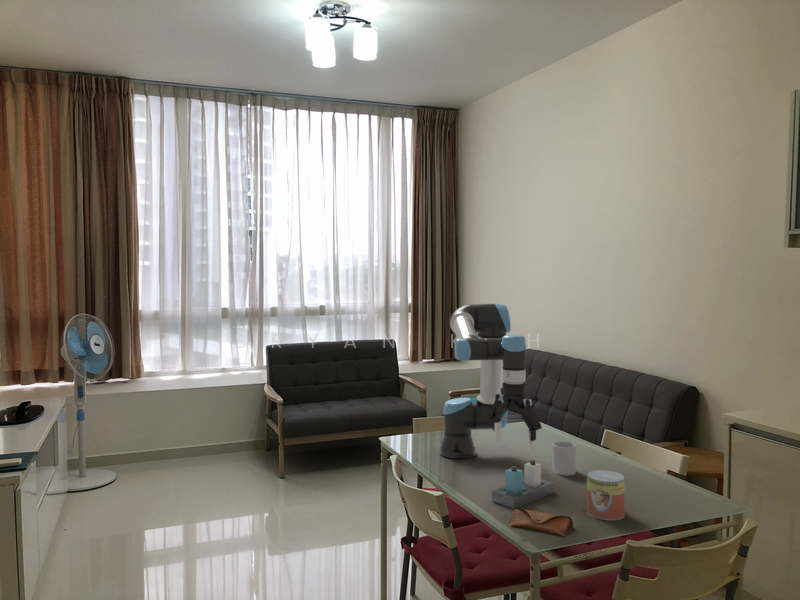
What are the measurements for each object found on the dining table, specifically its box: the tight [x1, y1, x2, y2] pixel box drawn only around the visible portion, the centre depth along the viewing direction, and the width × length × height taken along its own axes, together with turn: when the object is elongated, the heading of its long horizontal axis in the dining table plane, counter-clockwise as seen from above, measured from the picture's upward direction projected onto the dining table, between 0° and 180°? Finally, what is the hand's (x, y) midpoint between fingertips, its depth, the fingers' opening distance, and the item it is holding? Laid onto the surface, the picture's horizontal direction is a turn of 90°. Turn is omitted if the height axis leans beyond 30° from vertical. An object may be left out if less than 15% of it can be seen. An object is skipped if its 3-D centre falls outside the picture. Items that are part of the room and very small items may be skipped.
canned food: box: [586, 469, 626, 521], centre depth 187 cm, size 11×11×12 cm
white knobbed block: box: [523, 459, 542, 488], centre depth 203 cm, size 4×4×11 cm
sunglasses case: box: [508, 507, 574, 538], centre depth 178 cm, size 18×7×7 cm
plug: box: [504, 465, 524, 495], centre depth 197 cm, size 4×4×11 cm
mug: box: [552, 440, 577, 476], centre depth 228 cm, size 12×8×11 cm
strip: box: [491, 478, 555, 510], centre depth 200 cm, size 22×9×4 cm, turn 131°
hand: (513, 445), depth 197 cm, fingers open, 13 cm apart
